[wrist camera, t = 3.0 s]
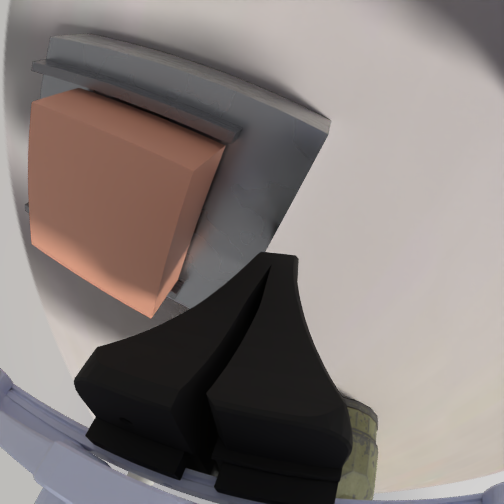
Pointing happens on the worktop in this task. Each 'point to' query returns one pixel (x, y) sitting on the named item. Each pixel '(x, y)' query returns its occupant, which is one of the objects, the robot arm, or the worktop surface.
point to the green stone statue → (360, 455)
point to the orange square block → (116, 193)
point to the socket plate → (209, 125)
